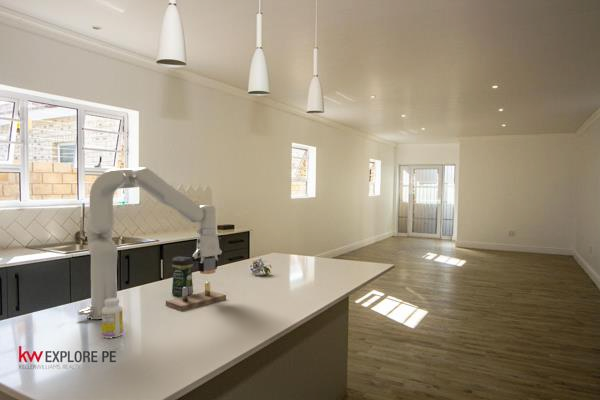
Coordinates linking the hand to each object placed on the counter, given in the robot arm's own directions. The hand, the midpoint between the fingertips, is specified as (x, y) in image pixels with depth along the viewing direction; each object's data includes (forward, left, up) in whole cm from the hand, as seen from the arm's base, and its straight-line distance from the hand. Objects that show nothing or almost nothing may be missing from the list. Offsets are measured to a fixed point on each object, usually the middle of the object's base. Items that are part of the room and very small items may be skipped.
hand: (207, 269), depth 190 cm
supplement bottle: (-50, -13, -14) cm, 54 cm away
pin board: (-6, 0, -14) cm, 15 cm away
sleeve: (0, 0, -1) cm, 1 cm away
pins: (-6, 0, -12) cm, 13 cm away
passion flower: (+53, +21, -14) cm, 59 cm away
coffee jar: (-3, +16, -14) cm, 22 cm away
